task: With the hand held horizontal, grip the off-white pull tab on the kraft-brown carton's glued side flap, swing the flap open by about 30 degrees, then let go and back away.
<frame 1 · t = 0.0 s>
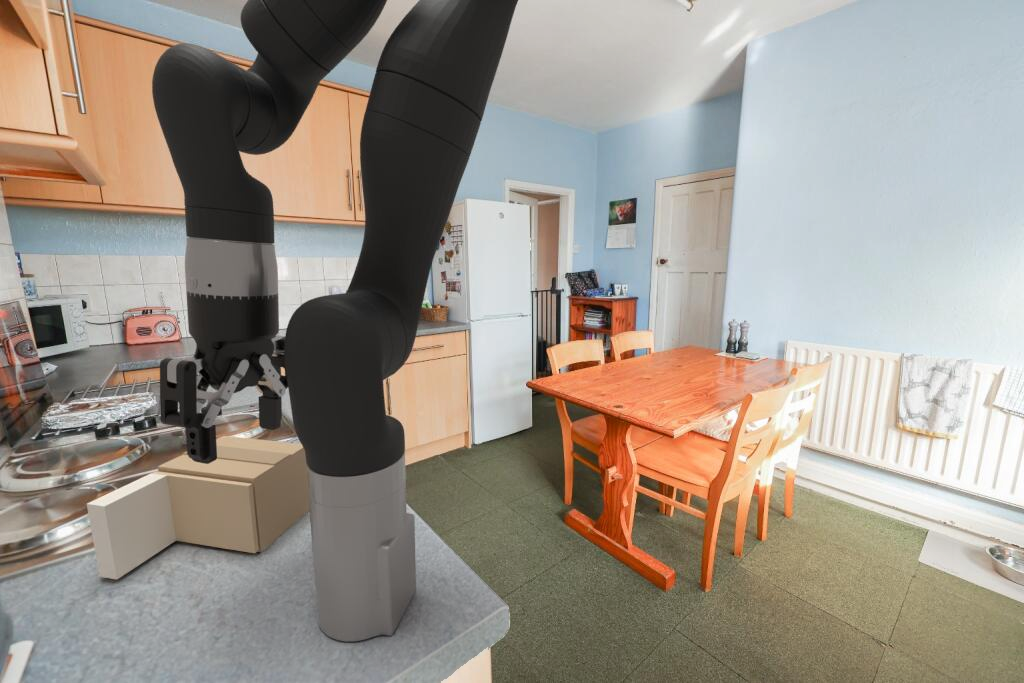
hand: (240, 443, 45), 17 cm above the countertop, tool pointing down, fingers open, 8 cm apart
kraft carton: (244, 521, 59), on the countertop
medicine box: (313, 486, 70), on the countertop
carton flap: (178, 528, 50), point 5 cm above the countertop, hinge at 0.0°
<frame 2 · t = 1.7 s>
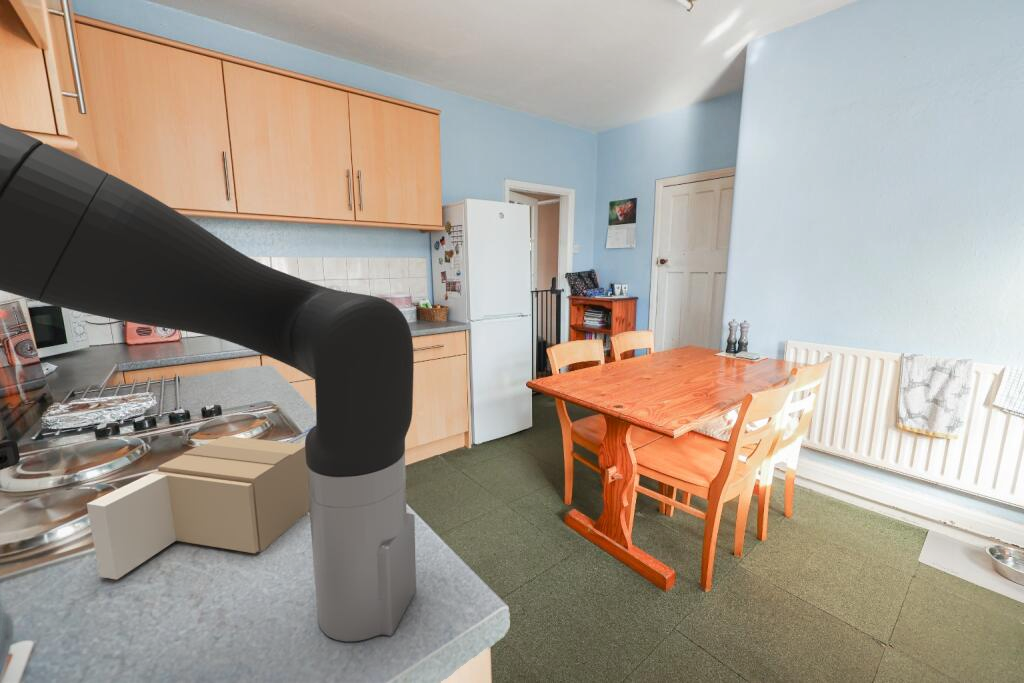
nothing on the countertop moved.
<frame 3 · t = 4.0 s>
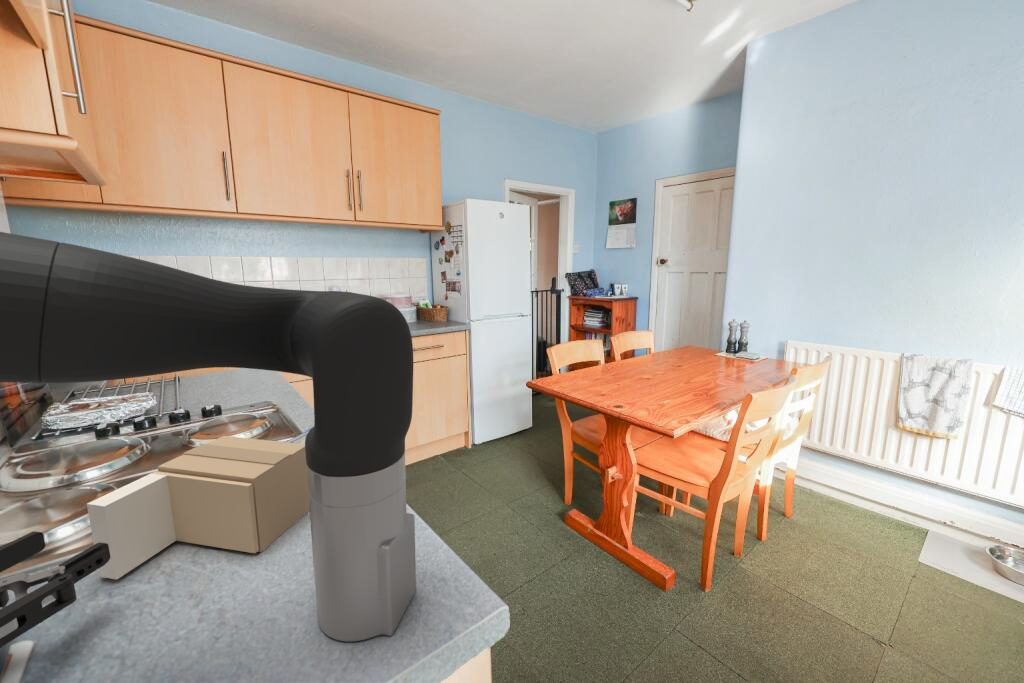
hand: (73, 544, 44), 6 cm above the countertop, tool horizontal, fingers open, 8 cm apart
nothing on the countertop moved.
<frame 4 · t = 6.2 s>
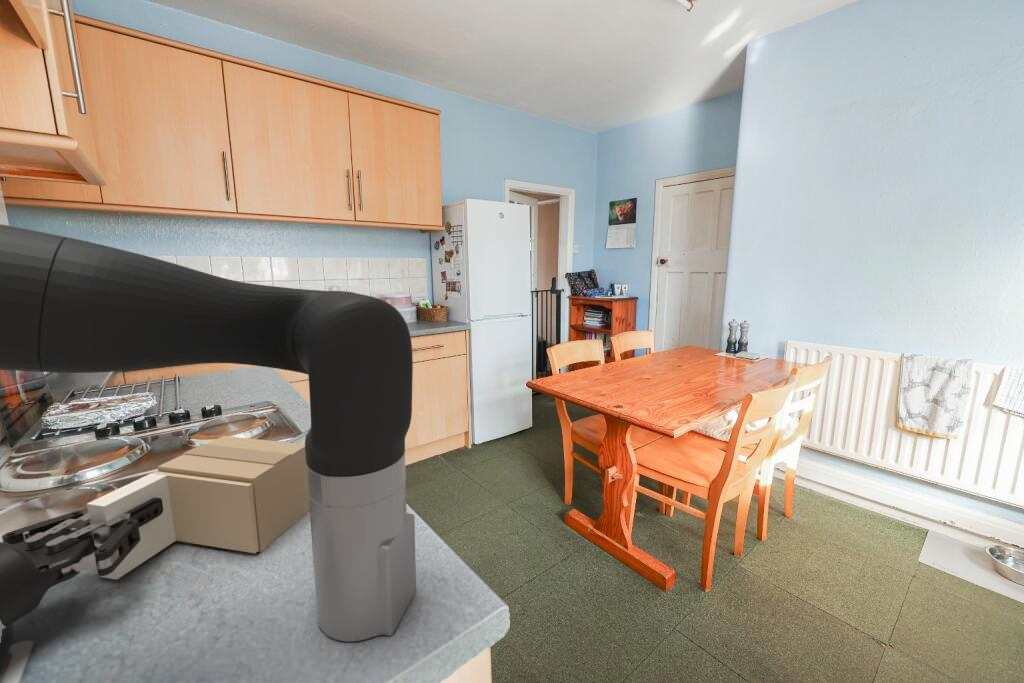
hand: (149, 503, 52), 6 cm above the countertop, tool horizontal, fingers closed on carton flap, 2 cm apart
carton flap: (178, 528, 50), point 5 cm above the countertop, hinge at 0.0°, touching gripper
everything else where it was.
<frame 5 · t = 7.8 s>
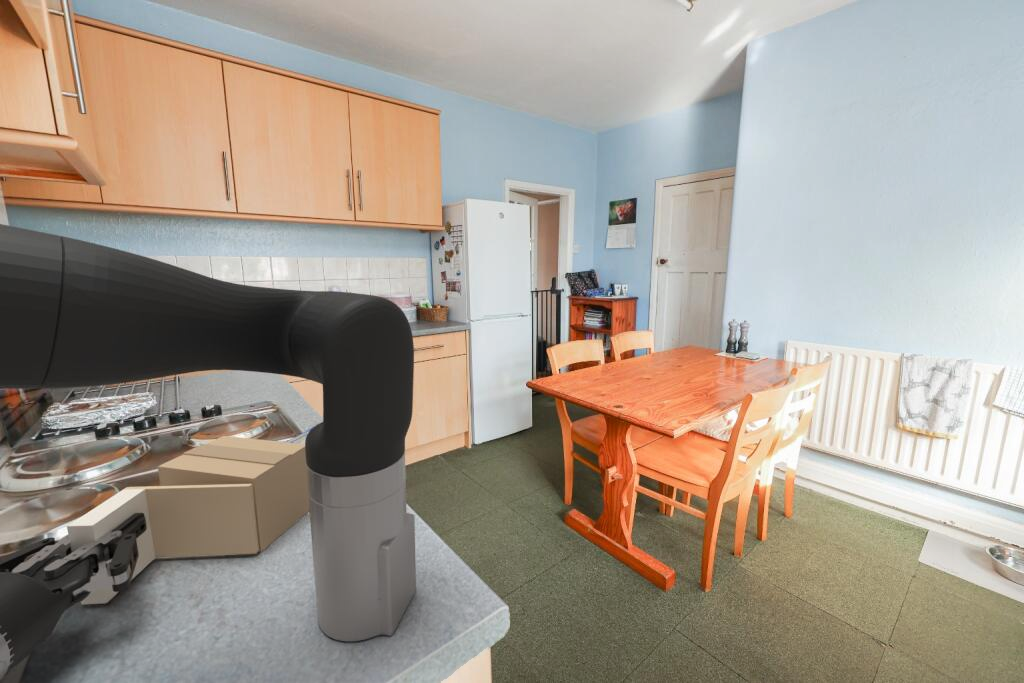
hand: (126, 520, 49), 6 cm above the countertop, tool horizontal, fingers closed on carton flap, 2 cm apart
carton flap: (173, 539, 48), point 5 cm above the countertop, hinge at 16.0°, touching gripper
everything else where it was.
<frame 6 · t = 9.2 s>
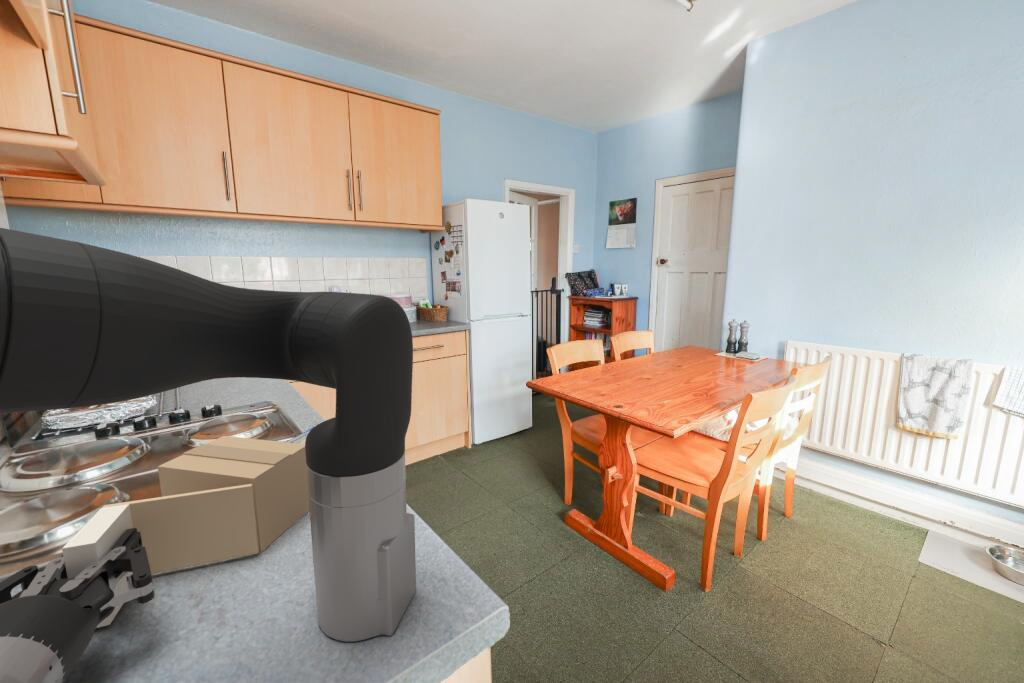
hand: (112, 539, 45), 7 cm above the countertop, tool horizontal, fingers open, 3 cm apart
carton flap: (174, 549, 46), point 5 cm above the countertop, hinge at 31.9°
everything else where it was.
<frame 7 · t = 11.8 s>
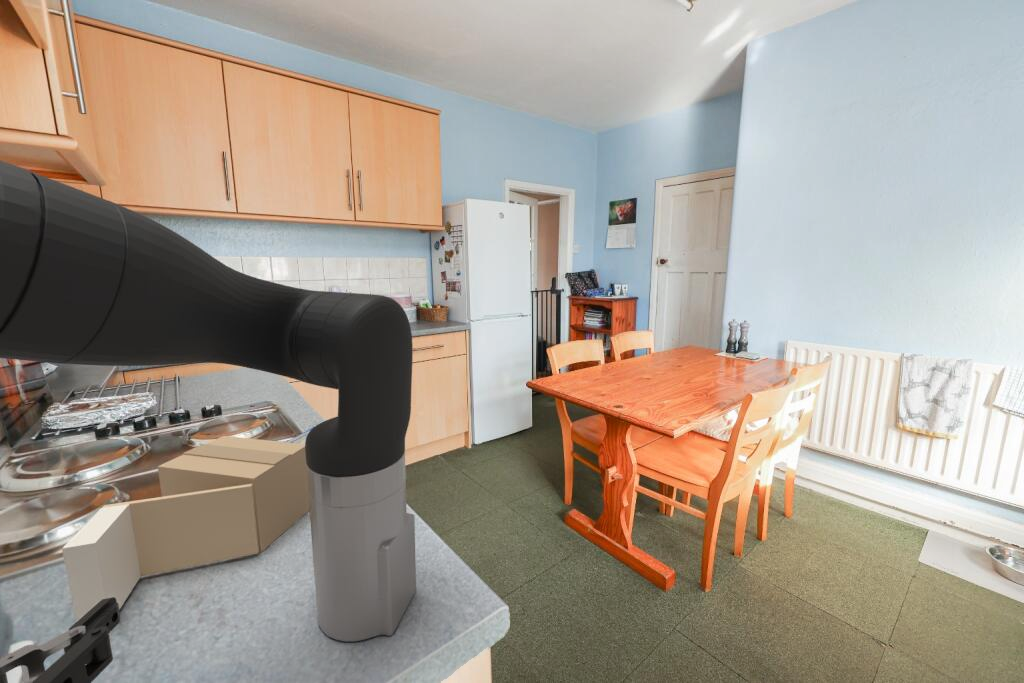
hand: (50, 620, 34), 7 cm above the countertop, tool horizontal, fingers open, 8 cm apart
nothing on the countertop moved.
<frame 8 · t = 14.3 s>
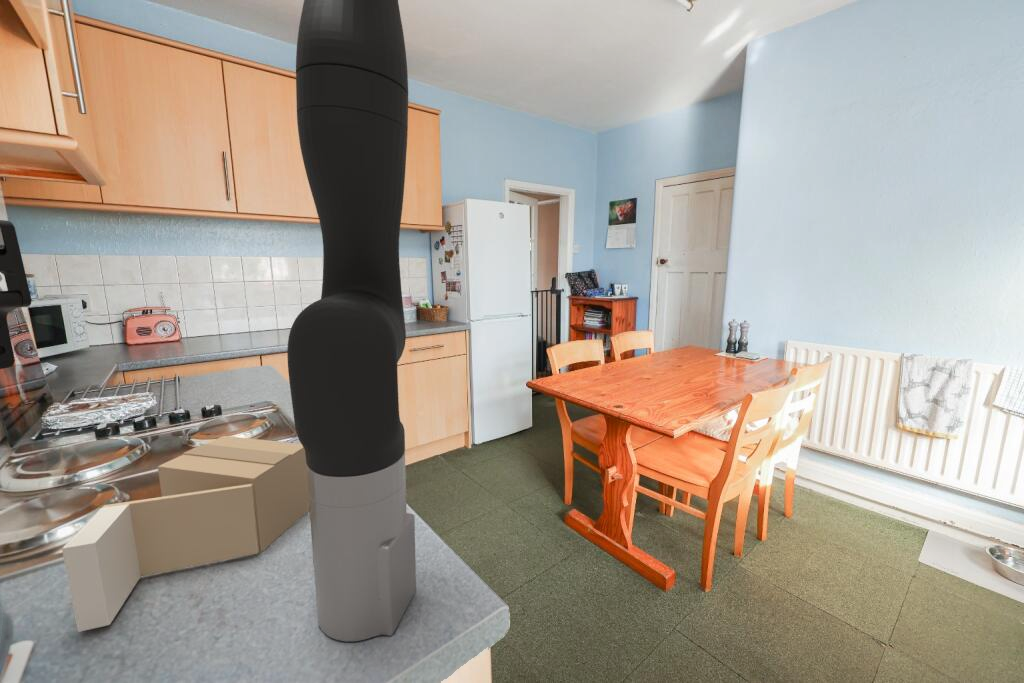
nothing on the countertop moved.
at the end: carton flap at +32° (first picture: +0°); the gripper is holding nothing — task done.
